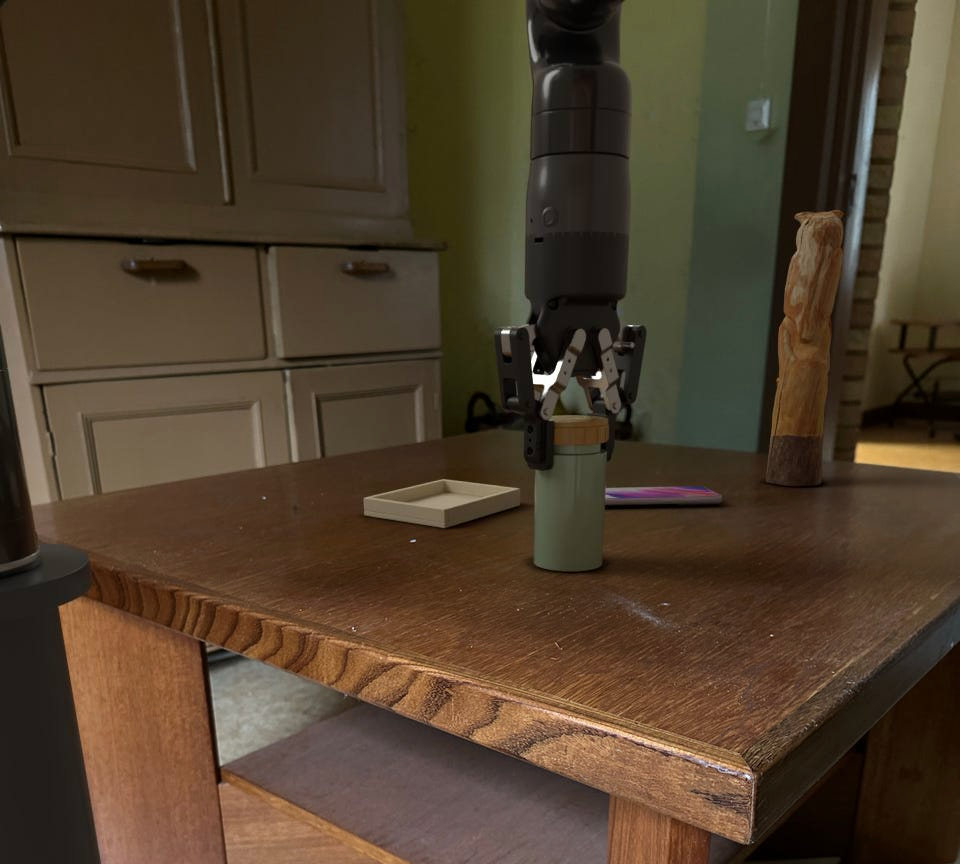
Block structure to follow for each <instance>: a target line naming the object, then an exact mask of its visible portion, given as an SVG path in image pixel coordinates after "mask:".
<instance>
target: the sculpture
mask: <svg viewBox="0 0 960 864" xmlns="http://www.w3.org/2000/svg"><path fill="white" fill-rule="evenodd" d="M843 216H844V212H843V211H841V210H838V209H835V210H829V211H820V212H813V211H802V212H799V213H796V214H795V215H794V219H795V220H796V221H798V223H799V224H800V227H799V228H798V230H797V233H796V238H795V245H796V251H795V253H794V254H793V256H792V257H791V259H790V262H789V267H788V271H787V277H786V282H785V286H784V287H785V288H784V299H783V300H784V301H783V302H784V303H783V313H784V314H785V317H784V318H783V320H782V322H781V324H780V326H779V327H778V337H777V339H778V340H777V352H778V353H777V354H778V355H777V356H778V357H777V358H778V366H779V367H778V368H779V372H778V377H777V378H776V391H775V396H774V404H773V409H772V415H771V416H772V417H771V418H772V419H771V434H770V440H769V449H768V456H767V457H768V458H767V465H766V466H767V467H766V475H765V482H766V483H767V484H771V485H778V486H782V487H793V488H797V487H814V486H818V485H820V484H822V482H823V446H824V423H825V406H826V402H827V396H828V390H829V388H828V387H829V371H830V369H831V366H830V365H831V364H830V363H831V344H832V343H831V342H832V320H831V315H832V312H833V309H834V305H835V300H836V295H837V292H838V287H839V283H840V278H841V274H842V268H843V261H844V250H843V249H842V248H841V246H842V244H843V243H842V242H843V240H844V226H843V221H842V220H841V219H842V218H843Z"/></svg>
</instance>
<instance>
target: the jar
mask: <svg viewBox="0 0 960 864" xmlns="http://www.w3.org/2000/svg"><path fill="white" fill-rule="evenodd" d="M607 465H608V462H607V451H606V450H604V449H601V443H600V444H591V445H553V467H552V469H550V470H545V471H540V470H535V469H534V497H533V498H534V499H533V500H534V503H533V505H534V506H533V507H534V508H533V562H532V563H533V564H534V566H536V567H538V568H541V569H545V570H549V571H555V572H566V573H567V572H571V573H572V572H587V571H591V570H596V569H598V568H601V566H602V565H603V564H604V563H603V562H604V541H605V540H604V539H605V517H606V515H605V514H606V505H605V493H606V488H607V470H608V469H607V467H608V466H607Z"/></svg>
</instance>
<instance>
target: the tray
mask: <svg viewBox="0 0 960 864" xmlns="http://www.w3.org/2000/svg"><path fill="white" fill-rule="evenodd" d="M519 506H521V488H519V487H513V486H504V485H503V486H502V485H495V484H488V483H487V484H486V483H478V482H470V481H461V480H455V479H446V478H442V479H437V480H434V481H430V482H425V483H421V484H418V485H417V484H416V485H413V486H409V487H404V488H400V489H395V490H391V491H387V492H382V493H378V494H374V495H369V496H366V497H363V515H364V516H366V517H372V518H378V519H385V520H391V521H398V522H403V523H410V524H416V525H422V526H429V527H435V528H440V529H447V528H451V527H453V526H457V525H460V524H463V523H467V522H469V521H473V520H476V519H479V518H483V517H486V516H489V515H493V514H496V513H499V512H503V511H506V510H509V509H512V508H516V507H519Z"/></svg>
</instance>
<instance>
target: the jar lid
mask: <svg viewBox="0 0 960 864" xmlns="http://www.w3.org/2000/svg"><path fill="white" fill-rule="evenodd" d="M549 420H551V421H554V445H591V444H600V443H605V442H607V441H608V440H609V425H608V418H606V417H600V416H587V415H581V414H579V415H578V414H576V415H575V414H572V415H571V414H569V415H568V414H565V415H563V414H562V415H552V417H551V418H550V419H549Z"/></svg>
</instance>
